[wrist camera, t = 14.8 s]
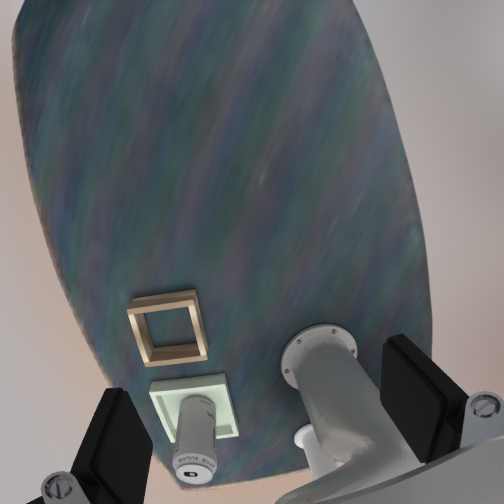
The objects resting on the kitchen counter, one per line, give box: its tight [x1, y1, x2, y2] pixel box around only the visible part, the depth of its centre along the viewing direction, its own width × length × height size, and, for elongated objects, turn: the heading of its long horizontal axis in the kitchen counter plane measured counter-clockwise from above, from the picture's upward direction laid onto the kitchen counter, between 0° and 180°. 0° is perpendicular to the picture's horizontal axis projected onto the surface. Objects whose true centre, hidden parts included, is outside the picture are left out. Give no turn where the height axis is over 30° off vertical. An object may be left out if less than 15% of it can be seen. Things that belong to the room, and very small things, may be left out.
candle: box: [294, 424, 338, 480], centre depth 41 cm, size 7×7×25 cm
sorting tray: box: [149, 373, 239, 443], centre depth 47 cm, size 12×12×3 cm
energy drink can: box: [173, 396, 217, 484], centre depth 41 cm, size 6×6×15 cm
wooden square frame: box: [127, 289, 209, 367], centre depth 43 cm, size 9×9×4 cm
